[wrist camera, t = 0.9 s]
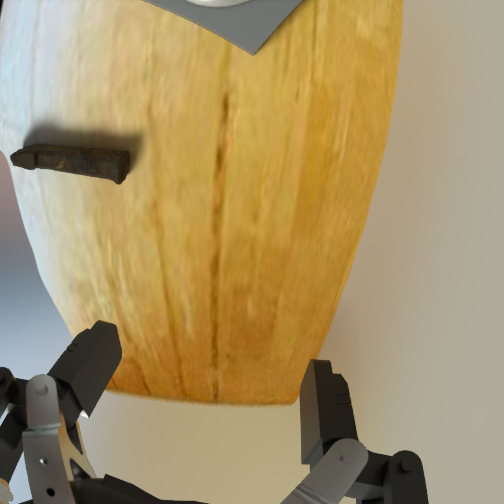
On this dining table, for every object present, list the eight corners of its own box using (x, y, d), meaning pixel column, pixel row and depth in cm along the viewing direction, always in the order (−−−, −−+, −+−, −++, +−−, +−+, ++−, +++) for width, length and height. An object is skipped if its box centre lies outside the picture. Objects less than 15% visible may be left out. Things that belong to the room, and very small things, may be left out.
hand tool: (134, 148, 31) (120, 158, 27) (129, 178, 33) (115, 191, 29) (24, 131, 27) (4, 139, 23) (23, 156, 29) (4, 167, 25)
